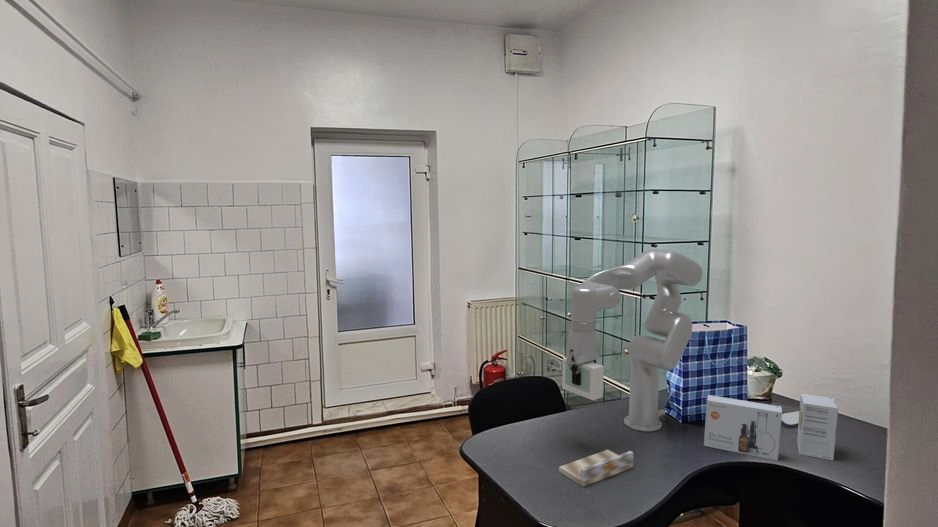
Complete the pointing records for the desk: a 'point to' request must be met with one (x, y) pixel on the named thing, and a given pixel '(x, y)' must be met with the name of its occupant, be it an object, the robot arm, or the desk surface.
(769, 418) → the skincare box
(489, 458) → the desk surface
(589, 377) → the carton
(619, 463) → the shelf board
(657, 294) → the robot arm
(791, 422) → the phone case
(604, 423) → the desk surface
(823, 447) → the supplement box
